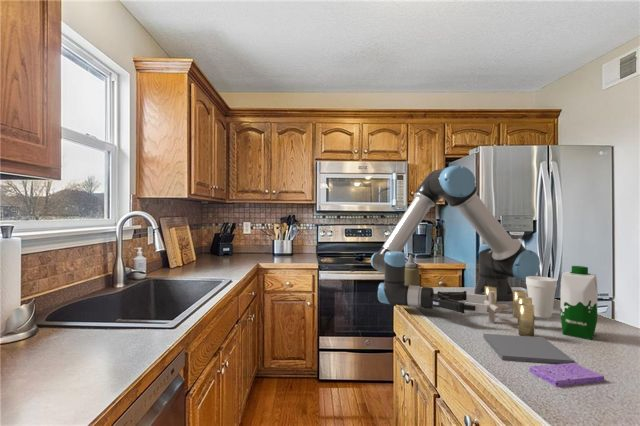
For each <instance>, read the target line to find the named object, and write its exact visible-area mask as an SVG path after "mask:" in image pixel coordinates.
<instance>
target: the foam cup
mask: <svg viewBox="0 0 640 426" xmlns="http://www.w3.org/2000/svg"><path fill="white" fill-rule="evenodd" d="M525 285H526V292H527V297H530V298H532V305H534V306H535V307H534V317H538V318H539V317H540V318H551V317H552V314H553V308H554V303H555V296H556V292H557V291H556V290H557V287H558V280H557V279H556V278H553V277H548V276H537V275H535V276H528V277H526V280H525Z"/></svg>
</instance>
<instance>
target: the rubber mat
mask: <svg viewBox="0 0 640 426" xmlns="http://www.w3.org/2000/svg"><path fill="white" fill-rule="evenodd" d="M482 337H483V339H484V340H485V341H486V342H487V344H488V345H489V346H490V347H491V348H492V350H494V352H495V353H496V354H497V355H498V357H500V358H501V360H502V361H504V360H505V361H513V362H514V361H517V362H530V363H543V364H544V363H545V364H555V363H557V365H559V364H569V363H575V360H574V359H573V358H571V357H570V356H569V355H568V354H566V353H565V352H564V351H562V350H561V349H559V348H558V347H557V346H555V345H554V344H553V343H552V342H550V341H549V340H547V338H545V337H544V336H534V337H530V336H520V335H513V334H512V335H511V334H510V335H509V334H496V333H495V334H494V333H482Z"/></svg>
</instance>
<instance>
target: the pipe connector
mask: <svg viewBox="0 0 640 426" xmlns="http://www.w3.org/2000/svg"><path fill="white" fill-rule="evenodd" d="M483 304H487V309H489V312H488V322H489V323H493V324H494V323H495V322H496V321H495V320H496V319H495V315H496V314H500V313H502V311H509V305H508V304H504V303H503V304H501V303H499V304H498V303H497V304H495V292H494V291H489V301H488V300H485V301H484V303H483ZM495 312H496V313H495Z"/></svg>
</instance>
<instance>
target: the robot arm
mask: <svg viewBox="0 0 640 426" xmlns="http://www.w3.org/2000/svg"><path fill="white" fill-rule="evenodd" d="M476 185H477V184H476V176H475V174H474V172H473V171H472V170H471V169H469V168H468V167H466V166H464V165H450V166H448V167H444V168H441V169H439V168H438V169H435V170H433V171H431V172H429V173H428V174H427V176H426V177H424V179H423V180H422V181H421V183H420V185H419V186H418V187H417V189H416V190H415V192H414V194H413V197H414V198H413V199H412V201H411V203H410V204H409V206H408V207H407V208H406V210H405V211H404V213H403V215H402V216H401V218H400V219H399V220H398V222H397V224H396V225H395V227H394V229H392V231H391V233H390V234H389V235H388V237H387V239H386V240H385V242H384V243H383V245H382V246H381V248H380V249H379V250H378V251H377V252H374V253H373V254H372V255H371V258H370V264H371V266H372V268H373V269H375V270H376V271H378V272H380V273H382V274H384V280H383V282H380V283H379V284H378V287H377V300H378V301H379V302H380V303H381V304H387V305H395V306H404V307H405V306H406V307H411V309H415V308H422V309H430V310H432V309H433V308H440V309H445V310H449V311H453V312H457V313H460V314H465V312H469V313H480V314H488V312H487V304H484V301H485V300H487V295H485V286H495V287H497V301H500V302H501V301H502V302H503V301H505V302H506V301H513V291H514V290H513V289H512V285H511V283H510V278H513V279H516V280H523V281H526V277H528V276H537V274H538V273H539V270H540V265H541V260H540V257H539V255H538V254H537V253H536V251H533V250H531V249H526V247H524V244H522V242H521V241H520V240H518V239H516V238H512V237H511V235H510V234H509V233H508V232H507V230H506V229H505V227H503V225H502V224H501V223H500V222H499V220H498V219H497V218H496V217H495V215H494V214H493V212H491V210H490V209H489V208H488V207H487V205H486V204H485V203H484V202H483V200H482V199H481V198H480V196H479V195H478V189H479V188H478V187H477V186H476ZM441 199H444V200H445V201H446V202H447V203H448V204H449V206H450V207H451V208H457V209H458V210H459V212H460V213H461V214H462V216H463V217H464V219H465V220H467V222H468V223H469V224H470V225H471V227H472V228H473V229H474V230H475V231H476V233H477V234H478V235H479V237H480V238H481V239H482V240H483V241H484V243H483V244H480V246H479V249H478V279H477V282H476V286H475V288H474V293H467V290H463V291H437V293H435V292H434V288H433V287H431V286H423V287H421V285H420V286H412V285H405V264H406V263H407V262H406V255H405V253H404V252H402V251H403V250H404V249H405V247H406V246H407V243H408V242H409V241H410V239H411V237H412V236H413V235H414V233H416V230H417V228H418V227H419V226H420V225H421V223H422V221H423V219H424V218H425V216H426V215H427V213H428V212H429V211H430V209H431V208H434V207H435V206H436V205H437V203H438V202H439V201H440V200H441ZM463 301H465V302H463Z"/></svg>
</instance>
